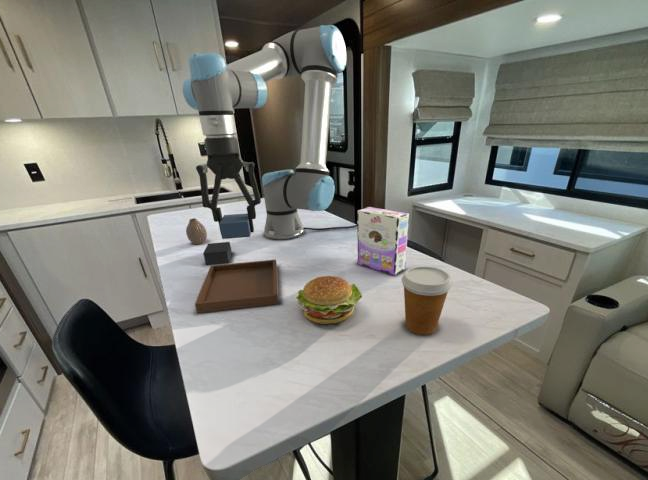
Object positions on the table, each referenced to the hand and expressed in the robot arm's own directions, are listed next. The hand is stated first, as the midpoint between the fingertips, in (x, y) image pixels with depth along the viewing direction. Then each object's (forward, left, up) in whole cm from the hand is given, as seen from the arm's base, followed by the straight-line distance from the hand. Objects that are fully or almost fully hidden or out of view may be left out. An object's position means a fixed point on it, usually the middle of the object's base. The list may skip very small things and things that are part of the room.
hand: (237, 232), depth 86 cm
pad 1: (+9, -16, -13) cm, 23 cm away
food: (-21, +25, -13) cm, 35 cm away
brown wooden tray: (0, +7, -13) cm, 15 cm away
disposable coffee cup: (-39, +35, -13) cm, 54 cm away
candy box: (-40, +3, -13) cm, 42 cm away
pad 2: (0, 0, 0) cm, 0 cm away
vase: (+19, -35, -13) cm, 42 cm away
